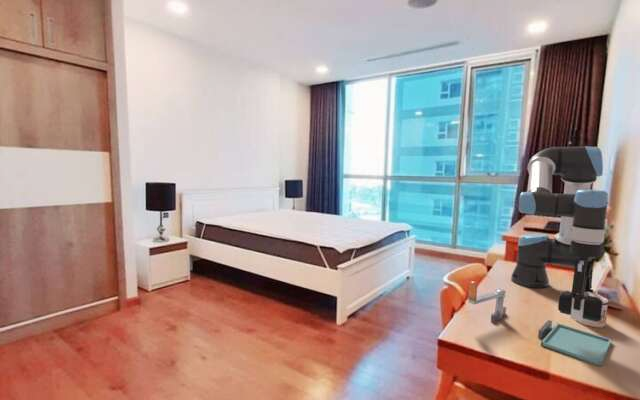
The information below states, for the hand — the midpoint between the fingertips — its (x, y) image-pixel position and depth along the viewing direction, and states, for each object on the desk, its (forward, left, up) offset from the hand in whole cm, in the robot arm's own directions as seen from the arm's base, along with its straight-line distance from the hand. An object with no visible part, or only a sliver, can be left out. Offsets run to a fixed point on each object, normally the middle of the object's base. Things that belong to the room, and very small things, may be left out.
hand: (579, 315), depth 101 cm
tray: (0, 0, -9) cm, 9 cm away
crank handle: (+6, -24, -1) cm, 25 cm away
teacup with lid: (-24, -1, -9) cm, 26 cm away
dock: (-1, -16, -9) cm, 18 cm away
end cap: (0, 0, -1) cm, 1 cm away
